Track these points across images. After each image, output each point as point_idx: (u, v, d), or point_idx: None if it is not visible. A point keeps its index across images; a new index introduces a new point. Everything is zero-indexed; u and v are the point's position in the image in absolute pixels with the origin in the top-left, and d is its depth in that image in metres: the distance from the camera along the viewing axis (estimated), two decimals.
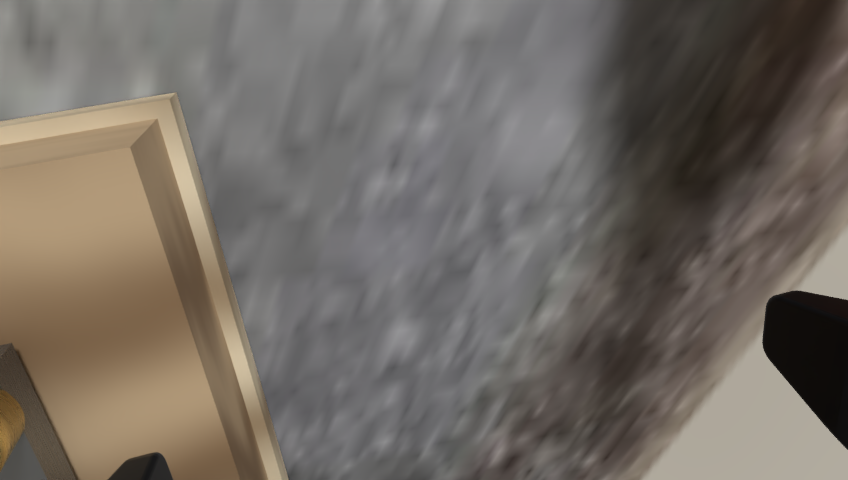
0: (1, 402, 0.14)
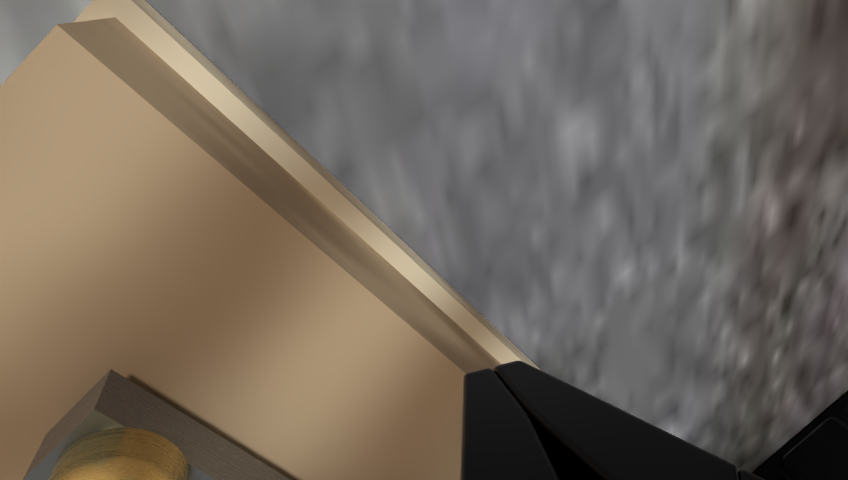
0: (130, 443, 0.10)
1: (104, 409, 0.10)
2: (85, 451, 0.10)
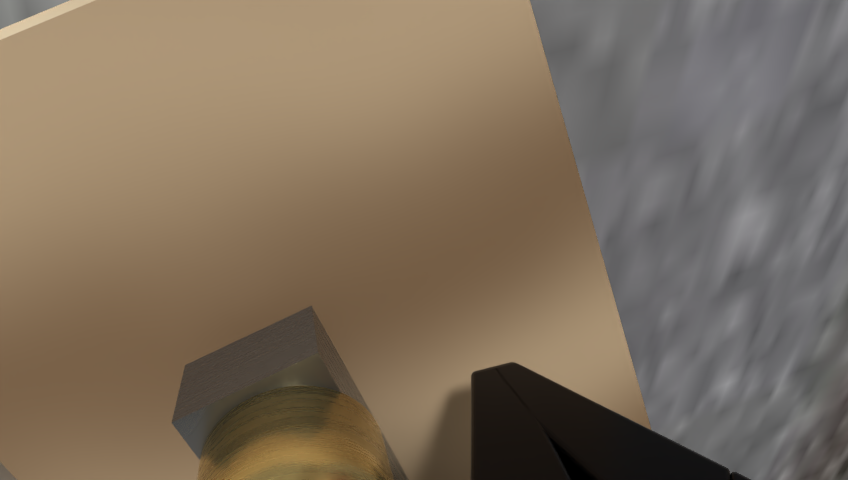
0: (354, 416, 0.07)
1: (323, 359, 0.07)
2: (297, 409, 0.07)
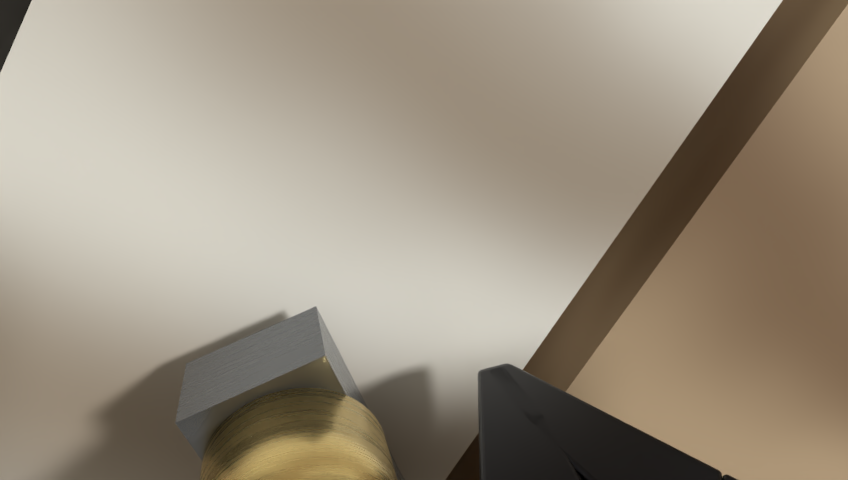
0: (360, 420, 0.07)
1: (330, 361, 0.07)
2: (305, 412, 0.07)
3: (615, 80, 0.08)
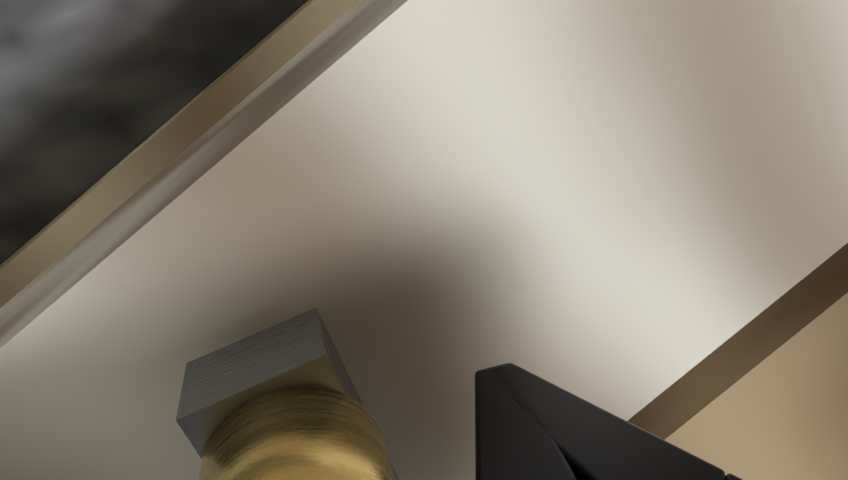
0: (359, 419, 0.07)
1: (330, 360, 0.07)
2: (305, 410, 0.07)
3: None
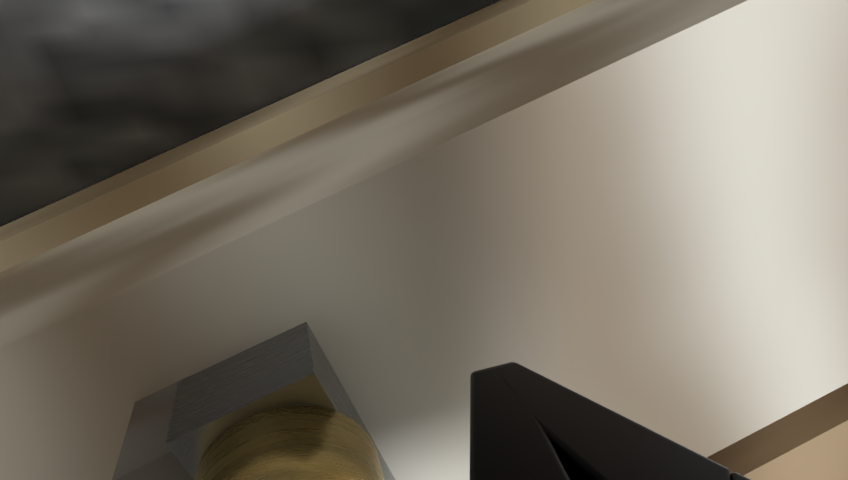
0: (350, 437, 0.07)
1: (319, 378, 0.07)
2: (293, 431, 0.07)
3: None
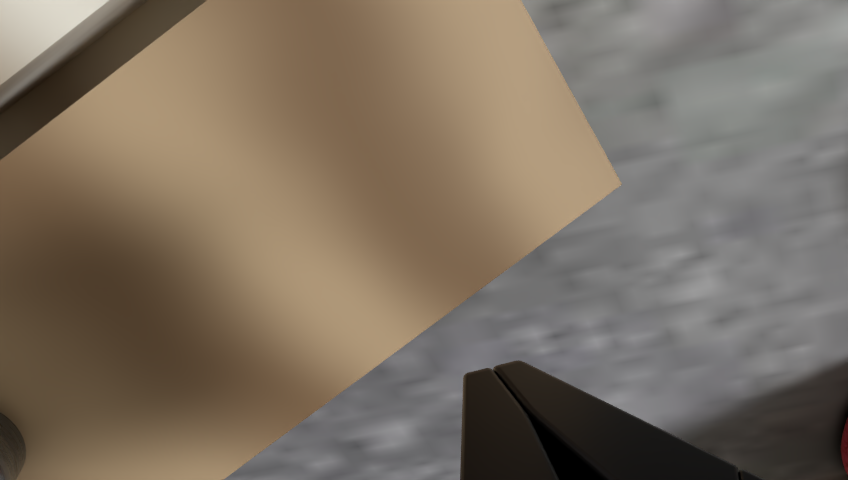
0: None
1: None
2: None
3: None
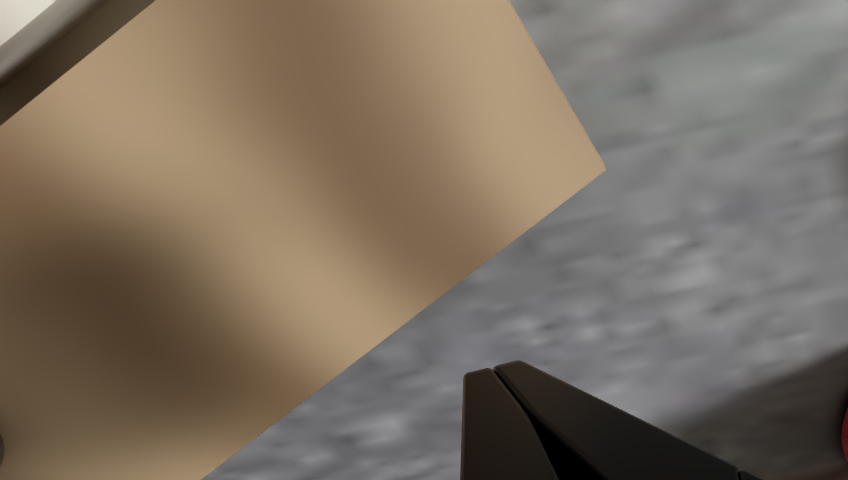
0: None
1: None
2: None
3: None
